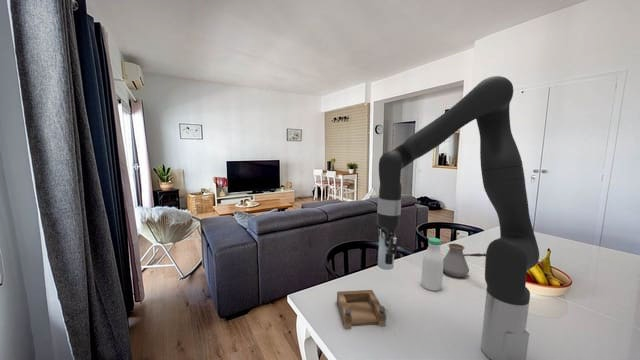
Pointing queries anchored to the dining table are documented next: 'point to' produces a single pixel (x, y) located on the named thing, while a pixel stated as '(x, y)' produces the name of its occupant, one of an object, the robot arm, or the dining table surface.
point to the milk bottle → (432, 266)
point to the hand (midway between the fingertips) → (385, 259)
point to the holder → (360, 308)
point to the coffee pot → (457, 261)
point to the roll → (383, 256)
